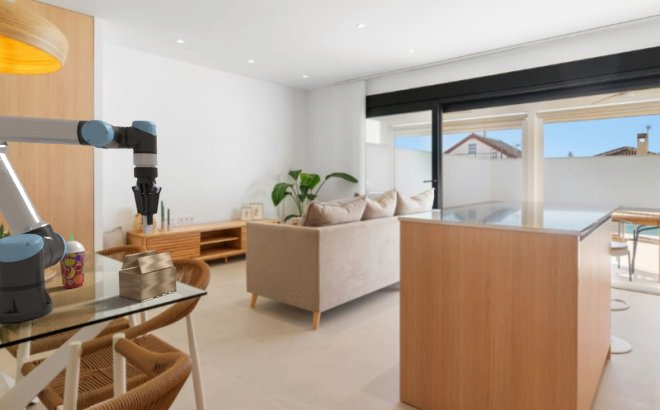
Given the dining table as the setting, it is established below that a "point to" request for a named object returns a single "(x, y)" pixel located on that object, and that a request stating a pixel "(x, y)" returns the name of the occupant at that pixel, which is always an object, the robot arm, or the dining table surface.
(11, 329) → the dining table surface
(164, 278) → the carton
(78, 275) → the smoothie
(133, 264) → the far flap
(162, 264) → the near flap
